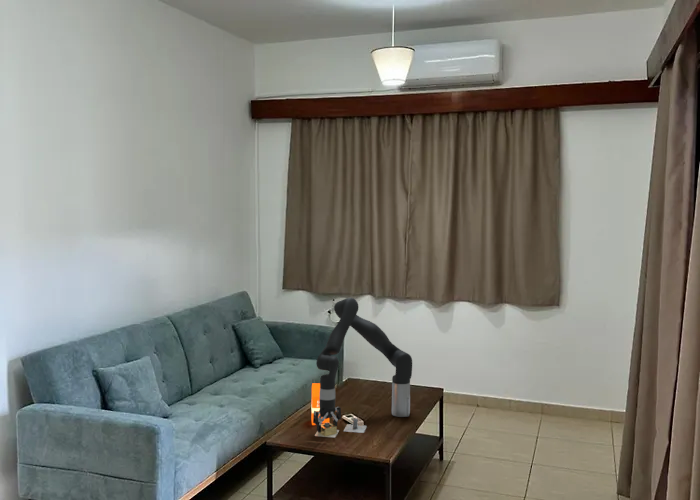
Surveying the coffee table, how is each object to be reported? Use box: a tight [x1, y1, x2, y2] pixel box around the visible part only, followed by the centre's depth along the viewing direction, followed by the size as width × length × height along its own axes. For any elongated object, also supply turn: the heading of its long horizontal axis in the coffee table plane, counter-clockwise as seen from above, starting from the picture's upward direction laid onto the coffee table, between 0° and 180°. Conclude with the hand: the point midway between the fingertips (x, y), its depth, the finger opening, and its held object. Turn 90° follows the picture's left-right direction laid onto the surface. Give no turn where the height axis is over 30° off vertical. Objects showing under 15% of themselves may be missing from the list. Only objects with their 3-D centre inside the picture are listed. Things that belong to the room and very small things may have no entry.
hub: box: [314, 422, 340, 438], centre depth 315 cm, size 10×10×6 cm
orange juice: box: [310, 382, 330, 426], centre depth 331 cm, size 8×9×20 cm
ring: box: [320, 422, 338, 436], centre depth 315 cm, size 6×6×4 cm
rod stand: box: [343, 418, 368, 434], centre depth 321 cm, size 10×10×5 cm
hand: (327, 430), depth 315 cm, fingers open, 8 cm apart
